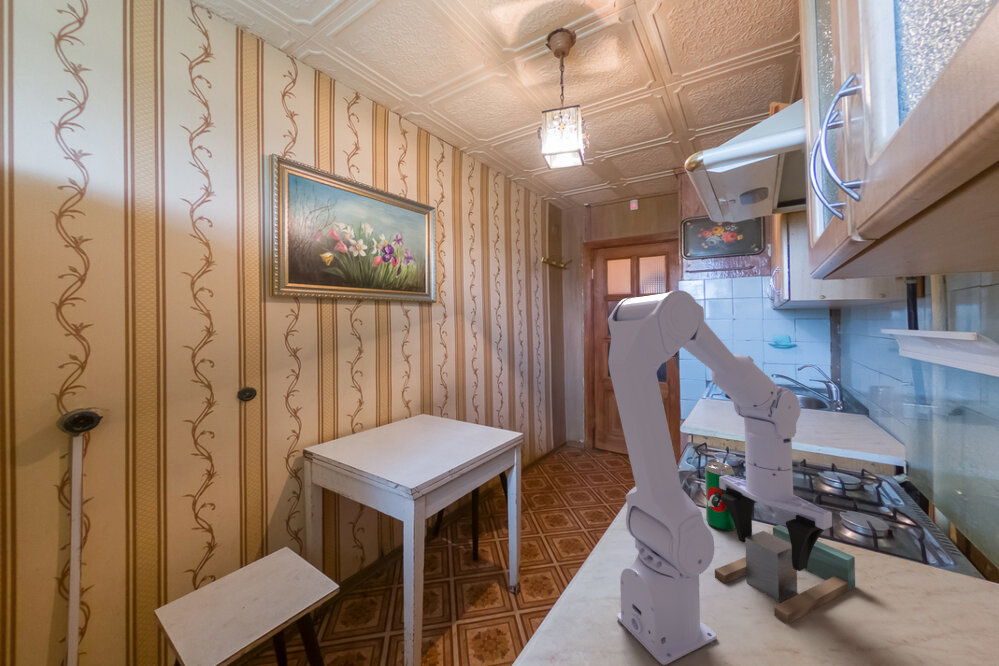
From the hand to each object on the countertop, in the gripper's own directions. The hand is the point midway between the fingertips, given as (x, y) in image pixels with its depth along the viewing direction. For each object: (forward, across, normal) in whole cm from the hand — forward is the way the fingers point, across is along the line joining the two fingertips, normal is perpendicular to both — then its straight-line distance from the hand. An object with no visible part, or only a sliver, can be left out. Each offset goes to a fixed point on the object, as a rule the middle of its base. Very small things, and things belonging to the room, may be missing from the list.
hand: (770, 553), depth 54 cm
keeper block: (+5, 0, 0) cm, 5 cm away
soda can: (+5, +15, -10) cm, 19 cm away
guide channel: (+5, 0, -2) cm, 6 cm away
